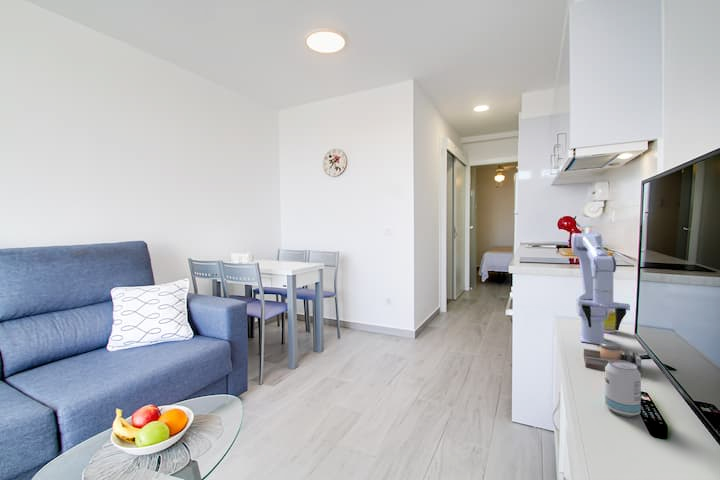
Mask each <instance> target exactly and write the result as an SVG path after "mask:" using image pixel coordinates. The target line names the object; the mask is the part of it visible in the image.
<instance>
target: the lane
mask: <svg viewBox="0 0 720 480" xmlns="http://www.w3.org/2000/svg"><path fill="white" fill-rule="evenodd" d="M583 360H584V366H585V368H589V369H594V370H601V371H605V367H606V365H607V364H608V363H609V360H607V359H600V350H597V349H589V348H583ZM621 360H623V361H624V353H621ZM631 363H633V364H635V365H636V366H637V369H638V371H639V372H640V374H641V377H642V376H643V373H642V357H640V355H639V353H638V351H637V350H636V349H631Z"/></svg>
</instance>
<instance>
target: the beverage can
mask: <svg viewBox="0 0 720 480" xmlns="http://www.w3.org/2000/svg"><path fill="white" fill-rule="evenodd" d="M641 382H642V376H641V374H640V372H639V371H638V369H637V366H636V365H635V364H633V363H630V362H627V361H623V360H609V363H608V364H607V365H606V367H605V370H604V404H605V406H606V407H607V408H609V409H610V410H611V412H613V413H615V414H616V415H619V416H622V417H629V418H631V417H635V416H638V415H640V414H641V409H642V408H641V405H642V403H641V402H642V401H641V400H642V399H641V398H642V391H641V390H642V388H641V387H642V383H641Z"/></svg>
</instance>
